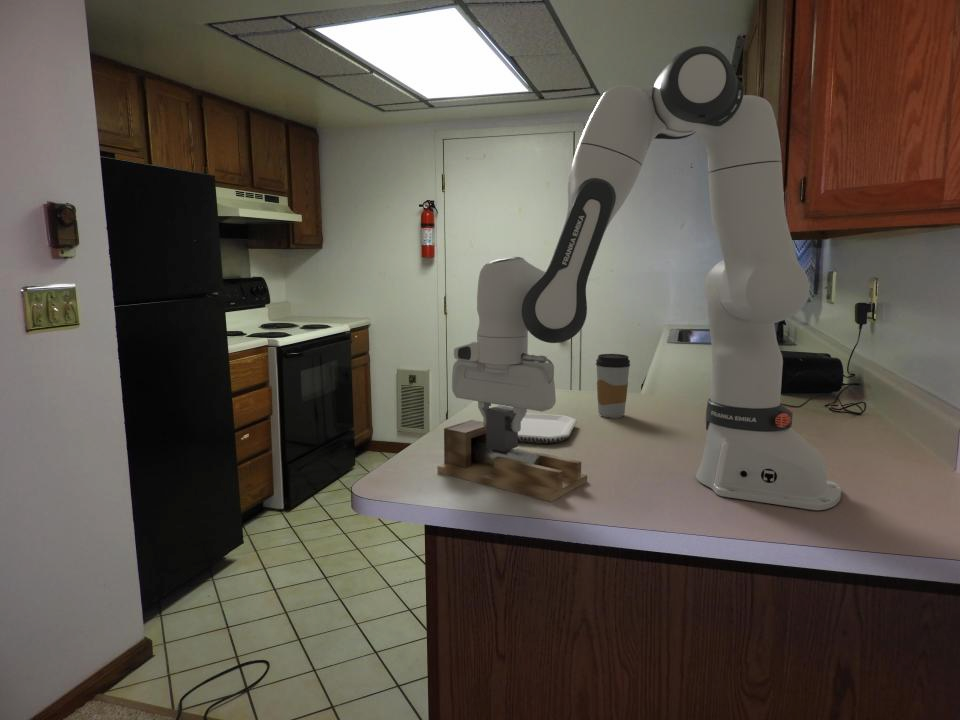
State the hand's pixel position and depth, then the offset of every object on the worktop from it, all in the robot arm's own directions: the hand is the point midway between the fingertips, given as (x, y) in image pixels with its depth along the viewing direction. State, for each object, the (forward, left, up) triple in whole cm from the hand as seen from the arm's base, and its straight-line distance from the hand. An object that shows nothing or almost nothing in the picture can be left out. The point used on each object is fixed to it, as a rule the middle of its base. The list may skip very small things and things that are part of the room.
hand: (501, 428), depth 115 cm
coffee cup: (+5, -54, -9) cm, 55 cm away
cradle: (-2, 0, -8) cm, 9 cm away
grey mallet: (0, 0, -7) cm, 7 cm away
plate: (+13, -28, -9) cm, 32 cm away
